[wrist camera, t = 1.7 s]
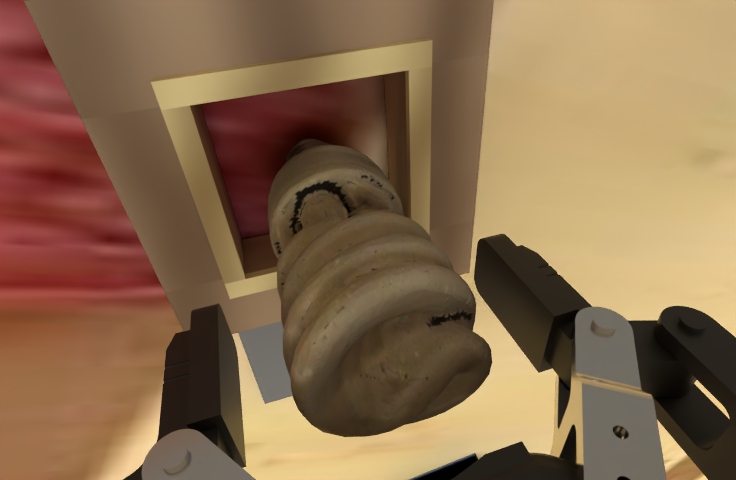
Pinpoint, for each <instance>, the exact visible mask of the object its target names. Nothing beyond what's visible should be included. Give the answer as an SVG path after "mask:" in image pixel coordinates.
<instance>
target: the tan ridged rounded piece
mask: <svg viewBox="0 0 736 480" xmlns="http://www.w3.org/2000/svg"><path fill="white" fill-rule="evenodd" d="M286 159H287V162H286V163H285V164H284V165H283V167H282V168H281V169H280V170H279V171H278V173H277V174H276V176H275V178H274V180H273V182H272V185H271V189H270V193H269V196H268V224H269V232H270V240H271V244H272V248H273V251H274V253H275V255H276V257H277V258H278V263H277V290H278V293H279V297H280V300H281V321H282V325H283V328H284V332H283V356H284V360H285V364H286V367H287V370H288V373H289V376H290V380H291V391H292V394H293V398H294V401H295V403H296V405H297V407H298V410H299V411H300V412H301V413H302V415H303V416H304V417H305V418H306V419H307V420H308V421H309V422H310V423H311V424H312V425H313V426H315V427H316V428H318V429H319V430H321V431H322V432H325V433H330V434H334V435H339V436H343V437H363V436H372V435H378V434H382V433H386V432H389V431H392V430H394V429H396V428H398V427H400V426H403V425H405V424H410V423H415V422H418V421H421V420H425V419H428V418H431V417H434V416H436V415H438V414H441V413H443V412H446V411H447V410H449V409H451V408H453V407H454V406H456V405H458V404H460V403H461V402H463V401H464V400H465V399H467V398H468V397H469V396H470V395H472V394H473V393H474V392H475V391H476V390H477V389H478V388H479V387H480V386H481V384H482V383H483V382H484V380H485V379H486V378H487V376H488V375H489V372H490V368H491V364H492V357H491V349H490V347H489V345H488V344H487V342H486V341H485V340H484V339H483V338H482V337H480V336H479V335H478V334H476V333H474V332H473V326H474V322H475V314H476V302H475V298H474V295H473V293H472V291H471V289H470V288H469V286H468V284H467V283H466V282H465V281H464V280H463V279H462V278H461V277H460V276H459V275H458V274H457V273H456V272H454V270H453V265H452V264H451V262H450V260H449V258H448V256H447V254H446V253H445V252H444V251H443V250H442V249H441V248H440V247H439V246H438V245H436V244H435V243H433V242H432V240H431V237H430V235H429V234H428V233H427V232H426V230H425V229H424V228H423V227H422V226H421V225H420V224H418V223H417V222H415V221H413V220H412V219H410V218H407V217H404V213H403V208H402V204H401V200H400V198H399V196H398V194H397V193H396V191H395V189H394V187H393V185H392V184H391V183H390V181H389V180H388V179H387V177H386V176H385V175H384V174H383V172H382V171H381V170H380V169H379V167H378V166H377V165H376V164H375V163H374V162H373V161H371V160H370V159H369V158H368V157H367V156H365V155H364V154H362V153H360V152H358V151H357V150H355V149H353V148H349V147H345V146H338V145H331V144H330V143H326V142H323V141H320V140H316V139H312V138H307V139H304V140H301V141H299V142H298V143H297V144H296V145H295V146H293V147H292V148H291V149H290V151H289V153H288V154H287V156H286Z"/></svg>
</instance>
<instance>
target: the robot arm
mask: <svg viewBox="0 0 736 480" xmlns="http://www.w3.org/2000/svg"><path fill="white" fill-rule="evenodd" d="M474 280H475V285H476V288H477V290H478V292H479V294H480V295H481V297H482V298H483V299H484V301H485V302H486V303H487V305H488V306H489V307H490V309H491V310H492V311H493V313H494V314H495V315H496V316H497V318H498V319H499V320H500V322H501V323H502V324H503V326H504V327H505V328H506V330H507V331H508V332H509V334H510V335H511V336H512V338H513V339H514V340H515V342H516V343H517V344H518V346H519V347H520V348H521V350H522V351H523V352H524V354H525V355H526V356H527V358H528V359H529V360H530V362H531V363H532V364H533V366H534V367H535V368H536V370H537V371H538V372H542V371H545V370H548V369H551V368H553V369H554V371H555V372H556V373H557V377H556V383H555V414H554V438H553V445H552V450H551V455H547V454H541V453H529V452H528V451H527V449H526V447H525V446H524V444H523V443H522V441H521V442H519V443H516V444H513V445H510V446H508V447H505V448H502V449H499V450H496V451H494V452H491V453H488V454H485V455H484V456H483V457H481V458H480V459H479V460H477V461H476V462H475V463H473V464H472V465H471V466H469V467H468V468H467V469H465V470H464V471H463V472H461V473H460V474H459V475H457V476H456V477H455V478H453V479H450V480H667V478H666V472H665V466H664V460H663V454H662V448H661V442H660V436H659V430H658V424H657V420H658V421H659V422H660V423H661V424H662V425H663V427H664V428H665V429H666V430H667V431H668V433H669V434H670V435H671V436H672V437H673V438H674V440H675V441H676V442H677V443H678V444H679V445H680V447H681V448H682V449H683V450H684V451H685V453H686V454H687V455H688V456H689V457H690V458H691V460H692V461H693V462H694V463H695V464H696V466H697V467H698V468H699V469H700V470H701V471H702V473H703V474H704V475H705V476H706V477H707V479H708V480H736V337H734V336H733V335H732V334H731V333H729V332H728V331H727V330H726V329H725V328H723V327H722V326H721V325H720V324H719V323H717V322H716V321H715V320H714V319H712V318H711V317H710V316H708V315H707V314H705V313H703V312H701V311H699V310H696V309H693V308H689V307H684V306H672V307H668V308H666V309H664V310H663V311H662V313H661V315H660V317H659V319H658V321H627V320H626V319H625V318H624V317H623V316H621V315H620V314H618V313H616V312H614V311H612V310H610V309H607V308H602V307H592V306H591V305H590V304H589V303H588V302H587V301H586V300H585V299H584V298H583V297H582V296H581V295H580V294H579V293H578V292H577V291H576V290H575V289H574V288H573V287H572V286H571V285H570V284H568V283H567V282H566V281H565V280H564V279H563V278H562V277H561V276H560V275H558V274H557V272H556V271H555V270H554V269H553V268H552V267H551V266H549V265H548V263H547V262H546V261H545V260H544V259H543V258H542V257H541V256H540V255H539V254H538V253H536V252H534V251H532V250H530V249H528V248H526V247H524V246H523V245H521V246H516V245H515V244H514V243H513V242H512V241H511V240H510V239H509V238H508V237H507V236H506V235H505V234H499V235H495V236H491V237H487V238H483V239H480V240H479V241H478V245H477V254H476V263H475V272H474ZM696 380H698V381H699V382H700V383H701V384H702V385H703V386H704V387H705V388H706V389H707V390H708V391H709V392H710V393H711V394H712V395H713V396H714V397H715V398H716V399H717V400H718V401H719V402H720V403H721V404H722V405H723V406H724V407H725V409H726V410H727V412H728V414H729V417H730V420H729V419H728V418H727V416H726V415H725V414H724V413H723V412H722V411H721V410H720V409H719V408H718V407H717V406H716V405H715V404H714V403H713V402H712V401H711V400H710V399H709V398H708V397H707V396H706V395H705V394H704V393H703V392H702V391H701V390H700V389H699V388H698V387H697V386H696V385H695V384H694V383H695V381H696ZM243 467H246V459H245V446H244V433H243V420H242V407H241V394H240V380H239V367H238V357H237V351H236V346H235V343H234V339H233V337H232V334H231V331H230V329H229V326H228V323H227V321H226V318H225V315H224V313H223V310H222V308H221V306H220V304H215V305H211V306H207V307H203V308H199V309H194V310H192V311H191V323H190V330H188V331H184V332H180V333H176V334H175V336H174V337H173V339H172V341H171V343H170V344H169V346H168V348H167V350H166V359H165V370H164V384H163V392H162V403H161V413H160V424H159V434H158V440H157V443H156V444H155V445H154V446H153V447H152V448H151V450H150V451H149V452H148V454H147V456H146V458H145V460H144V462H143V464H142V465H141V466H140V467H139V468H138V469H137V470H136V471H135V472H134V473H132V474H131V475H129V476H128V477H126V478H125V479H123V480H256V479H254V478H253V477H252V476H251V475H250V474H249V473H247V472H246V471H245V470H244V469H243Z"/></svg>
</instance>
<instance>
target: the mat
mask: <svg viewBox="0 0 736 480" xmlns="http://www.w3.org/2000/svg"><path fill="white" fill-rule="evenodd" d="M283 332H284V328H283V325H282V321H280V322H276V323H272V324H268V325H265V326H261V327H257V328H253V329H249V330H245V331H241V332H238V333H239V336H240V338H241V341H242V344H243V346H244V349H245V352H246V354H247V357H248V360H249V362H250V365H251V368H252V370H253V373H254V376H255V378H256V381H257V384H258V386H259V389H260V392H261V394H262V397H263V400H264V402H265V404H266V403H269V402H273V401H276V400H280V399H283V398H286V397H290V396H293V394H292V391H291V380H290V376H289V373H288V370H287V367H286V364H285V360H284V356H283Z"/></svg>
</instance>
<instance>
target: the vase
mask: <svg viewBox="0 0 736 480" xmlns="http://www.w3.org/2000/svg"><path fill="white" fill-rule="evenodd" d="M477 460H478V458H477V456H476V454H475V453H474V454H472V455H470V456H467V457H465V458H462V459H460V460H457V461H455V462H452V463H450V464H447V465H445V466H442V467H440V468H437V469H435V470H432V471H430V472H427V473H425V474H422V475H420V476H417V477H415V478H412V479H410V480H450V479H453V478H455V477H456V476H457V475H459V474H460V473H461V472H463V471H464V470H465V469H467V468H468V467H469V466H471V465H472V464H473V463H475V462H476V461H477Z"/></svg>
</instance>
